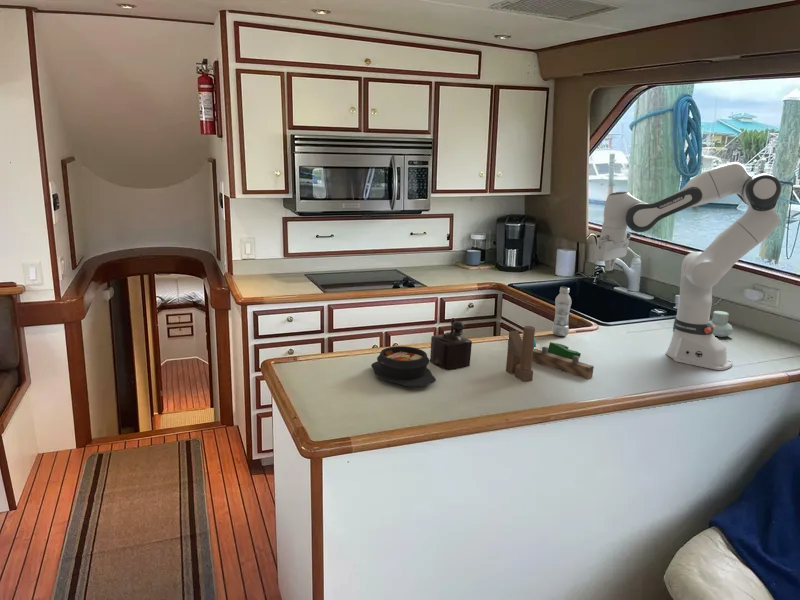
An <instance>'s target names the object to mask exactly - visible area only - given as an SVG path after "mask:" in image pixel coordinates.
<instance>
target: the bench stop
mask: <svg viewBox="0 0 800 600" xmlns="http://www.w3.org/2000/svg"><path fill="white" fill-rule="evenodd" d="M548 347H549V346H548ZM548 347H547V346H542V347H541V349H540V350H538V349H534V348H533V355H532V363H534V362H535V364H538V365H540V366H544V367H548V368H551V369H553V370H557V371H560V372H564V373H566V374H569V375H572V376H575V377H579V378H582V379H585V380H589V379H592V378H593V375H594V365H591V364H588V363H584V362H581V361H580V358H579V356H573V360H572V359H568V358H565V357H561V356H558V355H555V354H551V353H548Z"/></svg>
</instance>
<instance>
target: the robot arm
mask: <svg viewBox="0 0 800 600" xmlns="http://www.w3.org/2000/svg"><path fill="white" fill-rule="evenodd" d="M781 193H782V184H781V182H780V180H779V178H778V177H776V176H775V175H772V174H770V173H759V174H757V175H750V174H749V173H748V171H747V169H746V167H745V166H744V165H743V164H742V163H740V162H737V161H735V162H730V163H726V164H722V165H719V166H716V167H713V168H710V169H708V170H705V171H703V172H702V173H700V174H698V175H695V176H694V177H692V178H691V179H690V180H688V181H687V182H686V184H685V185H684V186H683V187H682V188H681V189H679V190H678V191H677V192H675V193H673V194H671V195H669V196H667V197H665V198H663V199H659V200H658V201H655V202H652V203H648V202H645V201H643V200H640V199H638V198H637V197H634V196H633V195H631V194H630V192H629V191H616V192H612V193H610V194H609V195H608V196H606V199H605V204H604V209H603V222H602V225H601V232H600V233H601V234H600V238H599V240H598V241H597V242H596V246H595V251H594V257H593V258H594V261H596V262H604V266H605V268H604V270H605V272H606V271H607V272H609V271H612V270H614V265H615V263H616V261H617V260H616V259H620V258H625V257H626V255H627V253H628V250H629V249H628V248H629V243H630V242H629V241H630V239H631V236H632V235H631V233H630V232H629V231H628V230H627V227H628V228H629V229H630V230H631V231H633V232H635V233H636V232H637V233H644V232H647V231H649V230H651V229H652V228H654V226H655V225H657V223H658V222H659V221H661V220H664V219H665V218H667V217H670V216H672V215H673V214H677V213H678V212H681V211H683V210H685V209H689V208H693V207H699V206H702V205H706V204H709V203H713V202H716V201H718V200H721V199H723V198H726V197H728V196H731V195H737V197H738V198H740V200H741V201H742V202H743V203H744V205H747V206H748V207H747V210H746V212H745V213H744V214H743V215H742V216H740V217H739V218H737V220H736V221H734V222H733V223H732V224H731V225H729V226H727V228H725V229H724V230H723V231H721V232H720V233H719V234H718V235H717V236H715V238H714V239H713V241H712V242H711V243H710V244H709V245H708V246H707V247H706V248H705V250H703V251H693V252H690V253H688V254H686V255H685V257H684V258H683V259H682V262H681V270H680V282H679V298H678V299H679V300H678V303H677V311H676V317H675V318H674V321H673V326H672V332H673V333H672V336H671V339H670V340H671V341H670V342H669V345H668V348H667V350H666V352H665V354H666V355H667V356H668V357H670V359H672V360H673V361H674V362H677V363H681V364H686V365H689V366H690V365H691V366H696V367H701V368H705V369H709V370H710V369H711V370H714V371H724V370H727V369H729V368H731V367H732V366H733V361H732V360H731V359H730V358H727V357H728V356H727V354H728V352H727V347H726V345H725V344H724V343H722V341H720V339H719V338H718V337H715V336H714V335H713V334H712V333H713V329H714V327H715V325H714V326H712V325H711V324H710V323H709V321H710V316H711V312H712V311H711V310H712V304H713V287H714V286H716V285H717V284H718V283H719V282H720V280H721V279H722V278H723V277H724V276H725V275H726V274H727V273H728V272H729V271H730V270H731V269H732V268H733V266H735V265H736V263H737V262H738V261H739V260H740V259H741V258H743V257H744V256H745V255H747V254H748V253H750V251H751V250H754V248H756V246H758V245H760V244H761V243H762V242H763V241H764V240H765V239H767V238H768V237H769V236H770V235H771V234H772V232H774V231H775V230H776V228H777V227H778V226H779V224H780V217H779V214H778V213H777V211H776V210H775V209H774V208H775V207H776V205H777V203H778V200H779V198H780V196H781Z"/></svg>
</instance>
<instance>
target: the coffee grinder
mask: <svg viewBox="0 0 800 600" xmlns="http://www.w3.org/2000/svg"><path fill="white" fill-rule="evenodd" d="M450 325H451V326H450V331H449V332H445V333H443V334H436V335H431V338H430V340H431V341H430V358H429V360H430V362H429V363H432V364H433V365H435V366H436V367H439V368H440V369H442V370H445V371H453V370H460V369H465V368H469V367H470V365H471V356H472V347H473V346H472V345H473V341H472V340H470V339H469V338H466V337H464V336H463V334H464V331H463V330H464V328H465V325H464V323H463V322H462V321H457V320H456V318H453V317H452V318H451V320H450Z"/></svg>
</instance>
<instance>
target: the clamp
mask: <svg viewBox="0 0 800 600" xmlns="http://www.w3.org/2000/svg"><path fill="white" fill-rule="evenodd" d="M548 353H551V354H555V355H558V356H561V357H565V358H568V359H572V360H573V356H579V359H580V358H581V354H582V353H581V352H579V351H576V350H572V349H569V346H567V345H565V344H561V343H558V342H552V341H550V342H549V345H548Z"/></svg>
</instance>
